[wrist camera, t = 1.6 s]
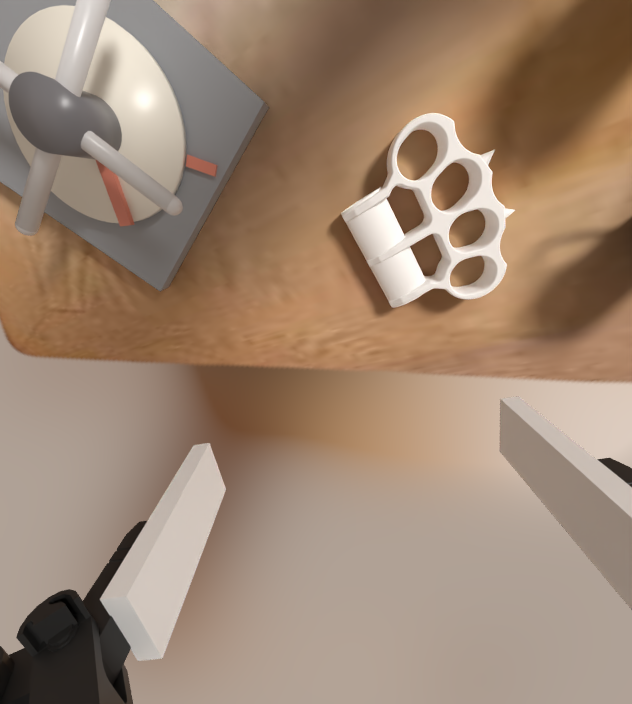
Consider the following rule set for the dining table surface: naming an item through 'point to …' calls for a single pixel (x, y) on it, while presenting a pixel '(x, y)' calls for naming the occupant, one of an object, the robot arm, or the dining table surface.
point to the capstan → (91, 118)
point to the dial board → (200, 128)
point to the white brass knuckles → (429, 221)
